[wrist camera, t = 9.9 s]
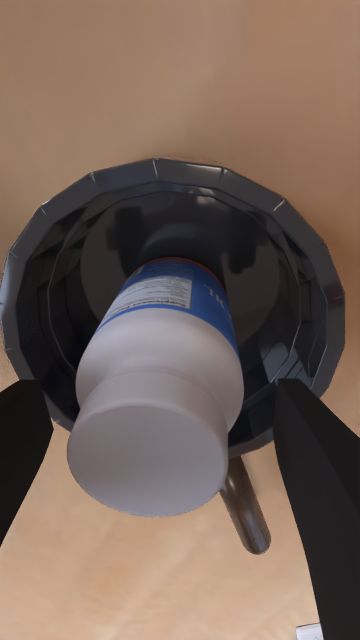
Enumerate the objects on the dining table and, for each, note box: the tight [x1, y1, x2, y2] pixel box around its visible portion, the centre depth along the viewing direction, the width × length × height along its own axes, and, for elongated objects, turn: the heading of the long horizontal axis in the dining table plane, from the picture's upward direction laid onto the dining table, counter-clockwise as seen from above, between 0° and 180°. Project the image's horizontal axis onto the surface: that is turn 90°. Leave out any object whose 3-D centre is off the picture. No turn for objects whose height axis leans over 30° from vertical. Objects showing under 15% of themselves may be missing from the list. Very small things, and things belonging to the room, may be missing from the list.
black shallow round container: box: [0, 156, 345, 459], centre depth 15 cm, size 13×13×4 cm
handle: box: [219, 455, 271, 555], centre depth 19 cm, size 10×2×2 cm, turn 20°
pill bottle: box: [67, 257, 244, 517], centre depth 13 cm, size 6×5×10 cm
